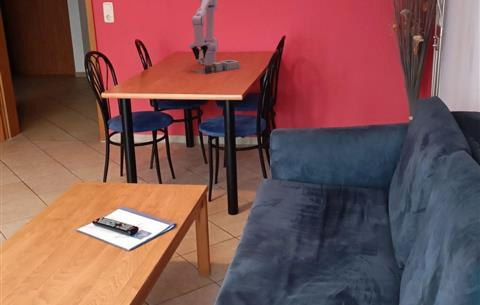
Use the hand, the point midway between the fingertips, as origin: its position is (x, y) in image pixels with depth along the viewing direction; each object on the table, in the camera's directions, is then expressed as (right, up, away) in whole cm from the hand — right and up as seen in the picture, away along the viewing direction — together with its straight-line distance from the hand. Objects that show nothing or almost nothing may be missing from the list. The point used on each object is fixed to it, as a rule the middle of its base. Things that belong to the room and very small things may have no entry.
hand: (200, 58), depth 347 cm
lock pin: (+8, -7, +1) cm, 11 cm away
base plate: (+10, -7, +5) cm, 13 cm away
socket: (+17, -4, +7) cm, 19 cm away
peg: (0, -2, +1) cm, 2 cm away
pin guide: (+10, -6, +2) cm, 12 cm away
